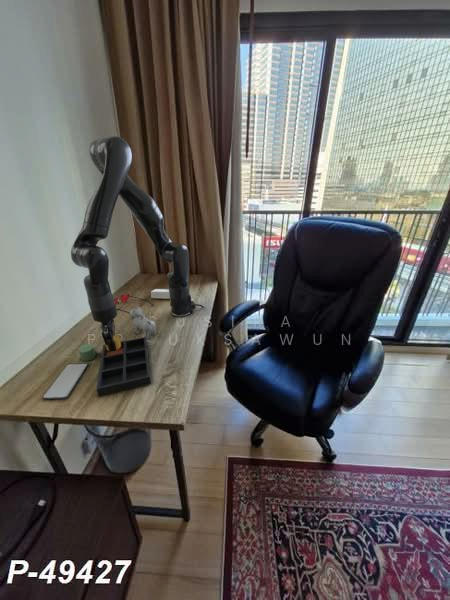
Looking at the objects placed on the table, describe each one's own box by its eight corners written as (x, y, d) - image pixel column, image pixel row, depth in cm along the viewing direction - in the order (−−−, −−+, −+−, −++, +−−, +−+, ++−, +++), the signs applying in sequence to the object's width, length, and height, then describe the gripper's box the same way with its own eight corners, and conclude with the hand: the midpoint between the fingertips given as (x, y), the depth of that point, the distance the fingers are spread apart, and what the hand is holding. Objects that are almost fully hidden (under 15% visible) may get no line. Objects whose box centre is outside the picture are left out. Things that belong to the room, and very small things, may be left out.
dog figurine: (140, 324, 111) (136, 303, 106) (158, 334, 104) (155, 312, 99) (129, 330, 107) (125, 308, 103) (148, 340, 100) (144, 318, 96)
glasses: (128, 299, 133) (127, 291, 131) (153, 305, 127) (152, 296, 124) (107, 311, 122) (105, 302, 120) (133, 318, 116) (131, 309, 113)
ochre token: (121, 341, 94) (118, 332, 92) (120, 349, 89) (118, 340, 88) (106, 344, 92) (104, 335, 90) (105, 352, 88) (103, 343, 86)
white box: (178, 296, 138) (178, 282, 137) (175, 298, 131) (174, 284, 130) (155, 295, 139) (155, 281, 138) (151, 298, 132) (150, 283, 131)
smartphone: (88, 363, 88) (65, 397, 75) (88, 364, 88) (66, 398, 75) (68, 363, 88) (41, 398, 75) (68, 364, 88) (42, 399, 75)
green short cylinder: (97, 350, 95) (94, 342, 93) (95, 359, 91) (92, 350, 89) (82, 353, 94) (79, 345, 92) (80, 362, 89) (77, 353, 88)
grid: (146, 342, 99) (145, 336, 98) (151, 383, 80) (149, 376, 79) (104, 351, 95) (103, 344, 94) (98, 396, 76) (96, 389, 74)
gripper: (113, 313, 78) (124, 356, 86) (115, 294, 90) (124, 333, 98) (86, 317, 76) (100, 360, 84) (92, 297, 88) (104, 337, 96)
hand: (113, 345), depth 91 cm, fingers closed on ochre token, 5 cm apart
